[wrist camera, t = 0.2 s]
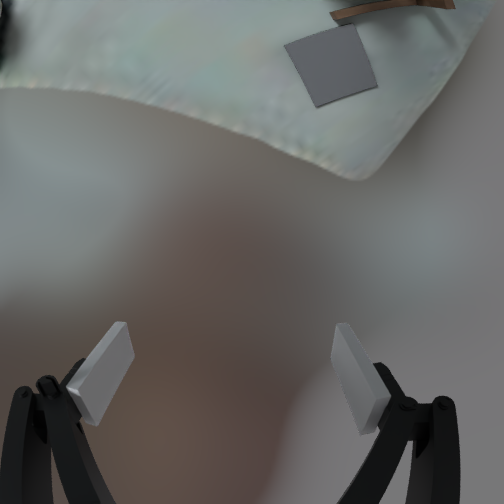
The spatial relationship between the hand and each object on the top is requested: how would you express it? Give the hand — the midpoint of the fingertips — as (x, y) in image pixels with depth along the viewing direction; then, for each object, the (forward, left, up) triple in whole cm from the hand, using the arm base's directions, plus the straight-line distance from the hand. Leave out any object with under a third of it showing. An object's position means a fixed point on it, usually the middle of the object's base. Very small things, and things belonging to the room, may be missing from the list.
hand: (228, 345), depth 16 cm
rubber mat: (-2, +17, -35) cm, 39 cm away
